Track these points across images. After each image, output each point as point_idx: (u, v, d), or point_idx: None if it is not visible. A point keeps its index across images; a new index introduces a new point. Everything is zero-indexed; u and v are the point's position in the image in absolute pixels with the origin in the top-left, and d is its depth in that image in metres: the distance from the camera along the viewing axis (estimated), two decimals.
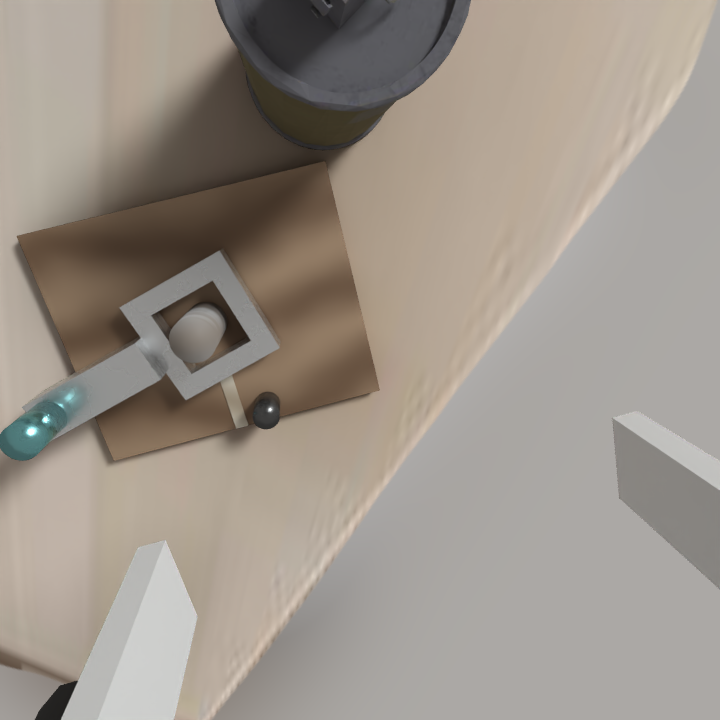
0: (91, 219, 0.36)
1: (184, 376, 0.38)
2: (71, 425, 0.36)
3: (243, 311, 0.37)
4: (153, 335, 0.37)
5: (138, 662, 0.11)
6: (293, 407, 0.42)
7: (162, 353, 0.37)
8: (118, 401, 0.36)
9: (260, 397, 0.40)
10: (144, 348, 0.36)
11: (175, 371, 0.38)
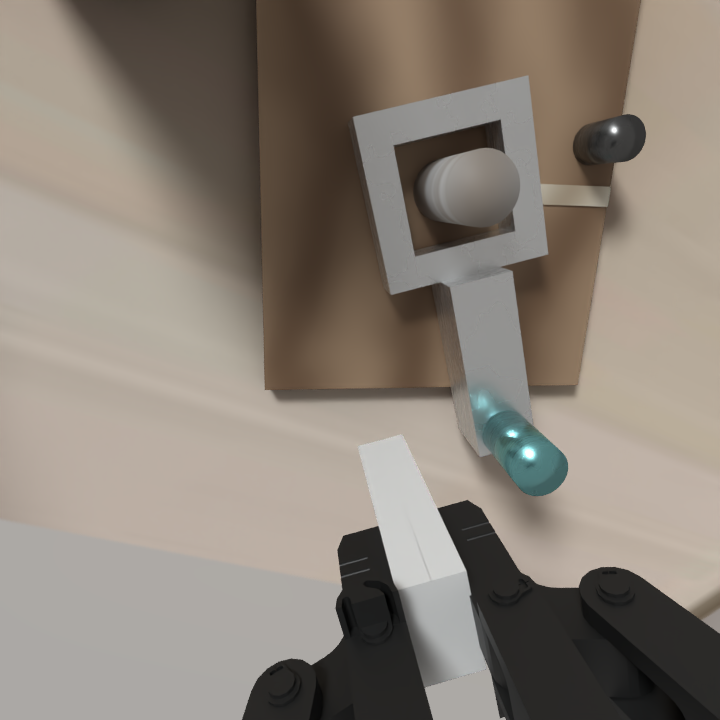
0: (264, 294, 0.26)
1: (514, 242, 0.25)
2: (526, 409, 0.26)
3: (452, 115, 0.23)
4: (443, 263, 0.25)
5: None
6: (614, 105, 0.26)
7: (471, 261, 0.25)
8: (519, 340, 0.25)
9: (582, 147, 0.25)
10: (458, 280, 0.25)
11: (503, 252, 0.25)
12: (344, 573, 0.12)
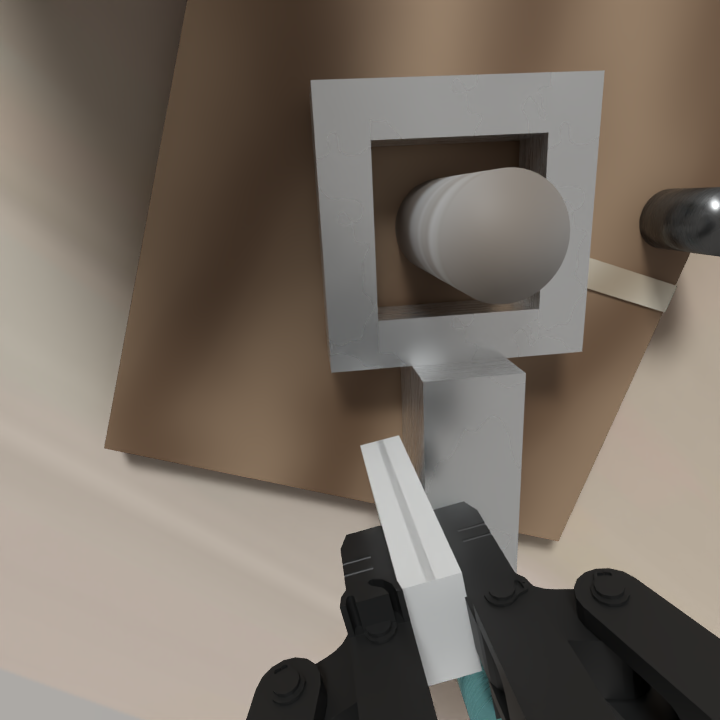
0: (133, 308, 0.17)
1: (535, 326, 0.16)
2: None
3: (474, 110, 0.14)
4: (420, 339, 0.16)
5: None
6: (713, 172, 0.18)
7: (465, 342, 0.16)
8: (517, 477, 0.16)
9: (657, 218, 0.17)
10: (438, 370, 0.16)
11: (514, 338, 0.16)
12: (347, 572, 0.12)
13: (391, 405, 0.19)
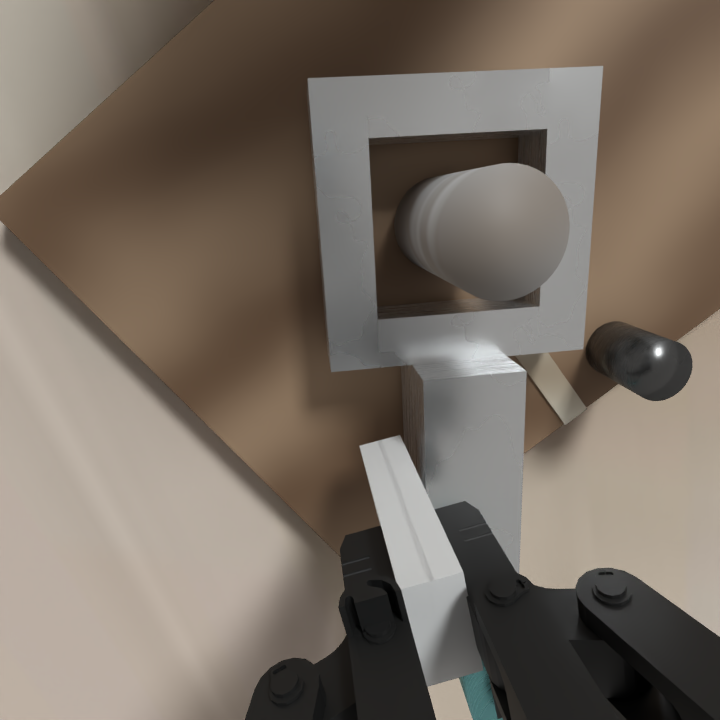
0: (117, 94, 0.15)
1: (535, 323, 0.16)
2: None
3: (472, 106, 0.14)
4: (420, 337, 0.16)
5: None
6: (665, 334, 0.19)
7: (465, 340, 0.16)
8: (519, 476, 0.16)
9: (607, 338, 0.18)
10: (438, 369, 0.15)
11: (515, 335, 0.16)
12: (346, 572, 0.12)
13: (295, 354, 0.18)
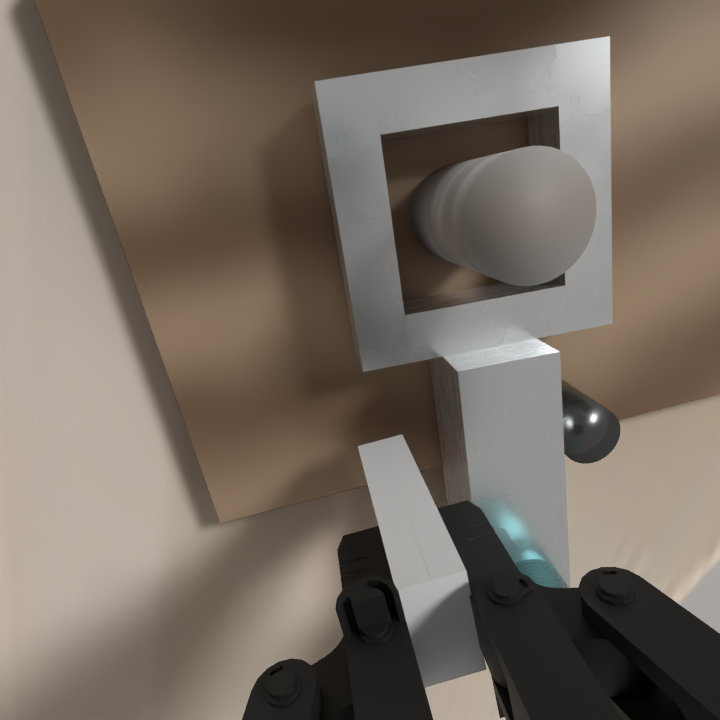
0: None
1: (562, 303, 0.16)
2: (561, 559, 0.17)
3: (481, 91, 0.14)
4: (448, 328, 0.16)
5: None
6: None
7: (494, 327, 0.16)
8: (561, 457, 0.16)
9: None
10: (470, 358, 0.15)
11: (543, 317, 0.16)
12: (344, 573, 0.12)
13: (264, 269, 0.17)
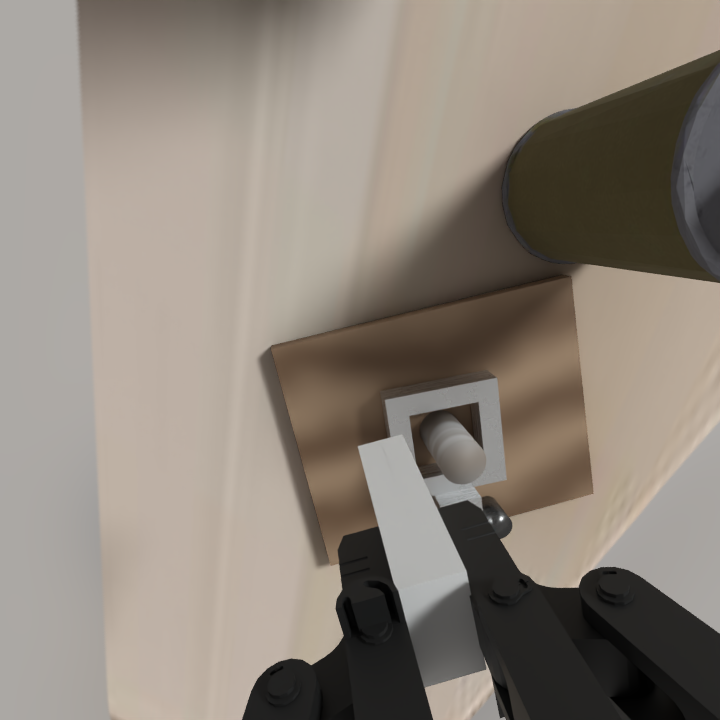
0: (344, 333, 0.36)
1: (484, 472, 0.38)
2: None
3: (448, 399, 0.36)
4: (436, 484, 0.38)
5: None
6: (509, 511, 0.42)
7: None
8: None
9: (485, 503, 0.40)
10: (445, 498, 0.37)
11: None
12: (344, 573, 0.12)
13: (356, 455, 0.39)
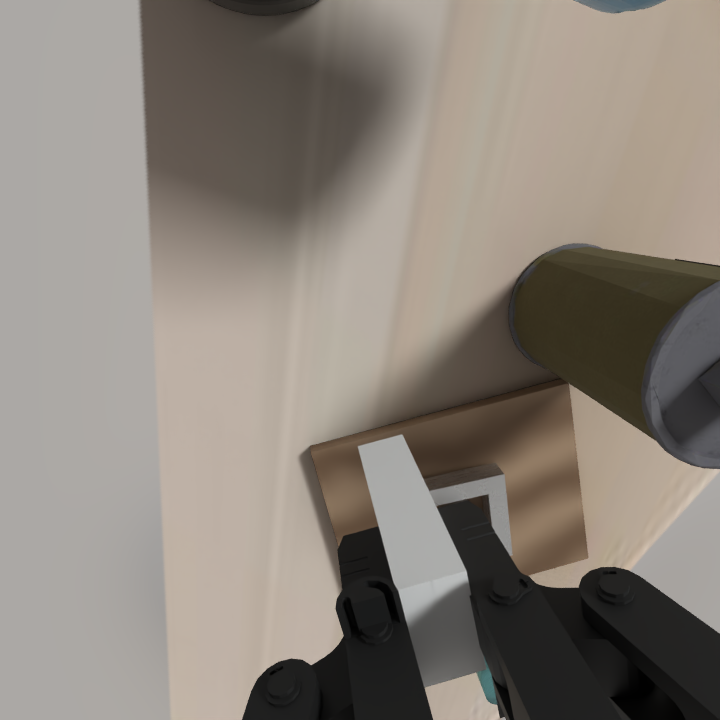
0: (372, 437, 0.42)
1: None
2: None
3: (462, 493, 0.42)
4: None
5: None
6: None
7: None
8: None
9: None
10: None
11: None
12: (344, 573, 0.12)
13: None
